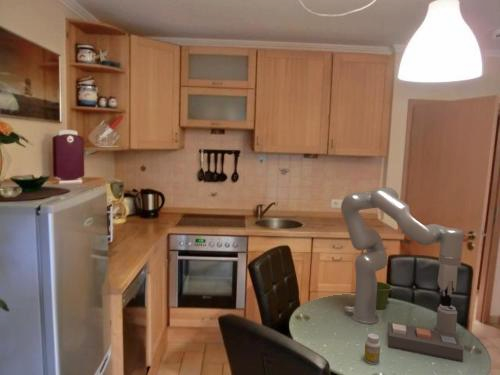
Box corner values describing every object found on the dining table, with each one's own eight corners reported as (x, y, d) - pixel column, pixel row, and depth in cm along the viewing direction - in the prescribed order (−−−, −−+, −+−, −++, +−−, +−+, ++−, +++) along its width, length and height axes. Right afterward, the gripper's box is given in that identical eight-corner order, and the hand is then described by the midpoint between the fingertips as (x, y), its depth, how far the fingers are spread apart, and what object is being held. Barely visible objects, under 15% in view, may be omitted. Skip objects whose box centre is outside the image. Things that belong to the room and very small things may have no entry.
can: (458, 338, 149) (460, 311, 147) (439, 335, 150) (441, 309, 149) (451, 329, 156) (453, 303, 155) (433, 327, 157) (435, 301, 156)
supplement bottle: (376, 366, 127) (377, 341, 126) (362, 360, 130) (363, 336, 129) (381, 360, 131) (383, 335, 130) (367, 354, 134) (369, 331, 134)
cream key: (392, 338, 142) (392, 328, 142) (391, 332, 147) (392, 323, 147) (405, 340, 141) (406, 331, 140) (404, 334, 145) (405, 325, 145)
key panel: (388, 347, 140) (389, 335, 139) (387, 333, 151) (388, 322, 151) (462, 362, 131) (463, 349, 130) (455, 346, 142) (456, 334, 142)
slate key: (441, 350, 136) (442, 341, 136) (439, 344, 141) (440, 335, 140) (456, 353, 134) (456, 344, 134) (453, 347, 139) (454, 337, 139)
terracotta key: (416, 342, 139) (417, 333, 139) (415, 336, 144) (416, 327, 143) (430, 345, 137) (431, 335, 137) (428, 339, 142) (429, 329, 142)
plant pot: (388, 314, 169) (389, 291, 168) (363, 308, 176) (364, 286, 175) (392, 305, 179) (393, 284, 178) (369, 299, 186) (370, 279, 185)
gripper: (435, 253, 143) (431, 296, 145) (442, 264, 129) (437, 311, 131) (456, 256, 141) (452, 299, 143) (465, 267, 127) (460, 315, 129)
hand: (445, 305), depth 137 cm, fingers closed
